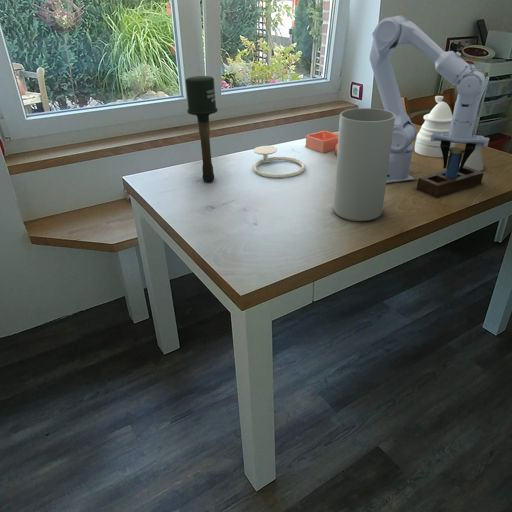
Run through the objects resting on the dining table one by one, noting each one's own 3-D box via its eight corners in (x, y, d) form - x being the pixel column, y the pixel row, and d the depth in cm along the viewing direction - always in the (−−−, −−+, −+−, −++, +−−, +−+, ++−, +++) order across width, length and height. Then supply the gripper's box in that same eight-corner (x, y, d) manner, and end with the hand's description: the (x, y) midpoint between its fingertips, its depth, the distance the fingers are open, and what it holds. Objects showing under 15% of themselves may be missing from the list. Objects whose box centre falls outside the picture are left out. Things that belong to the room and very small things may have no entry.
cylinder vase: (348, 197, 122) (356, 105, 109) (390, 209, 115) (404, 112, 102) (324, 214, 114) (330, 116, 101) (368, 227, 107) (380, 124, 94)
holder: (416, 189, 126) (418, 177, 124) (460, 176, 133) (463, 165, 132) (436, 197, 121) (438, 186, 119) (480, 183, 128) (483, 172, 126)
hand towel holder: (272, 169, 131) (237, 151, 146) (272, 183, 133) (238, 164, 148) (316, 157, 138) (278, 141, 153) (315, 170, 141) (278, 153, 156)
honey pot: (406, 148, 156) (414, 96, 147) (434, 143, 161) (443, 92, 151) (433, 159, 146) (443, 104, 137) (461, 153, 151) (473, 99, 141)
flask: (480, 173, 134) (488, 141, 129) (455, 169, 138) (462, 138, 133) (486, 166, 139) (494, 135, 134) (462, 162, 143) (469, 132, 138)
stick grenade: (218, 186, 132) (210, 81, 116) (191, 185, 134) (179, 81, 118) (225, 176, 139) (218, 75, 123) (199, 174, 141) (189, 75, 125)
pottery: (305, 146, 162) (306, 119, 156) (324, 141, 166) (325, 115, 161) (341, 159, 149) (343, 130, 144) (360, 153, 154) (363, 125, 149)
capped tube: (448, 182, 124) (454, 151, 119) (440, 178, 127) (446, 147, 122) (460, 181, 125) (467, 150, 120) (452, 176, 128) (458, 146, 123)
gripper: (493, 118, 117) (481, 166, 124) (436, 114, 123) (427, 160, 130) (493, 125, 112) (480, 175, 119) (433, 120, 117) (424, 168, 124)
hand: (452, 168), depth 124 cm, fingers closed on capped tube, 3 cm apart
